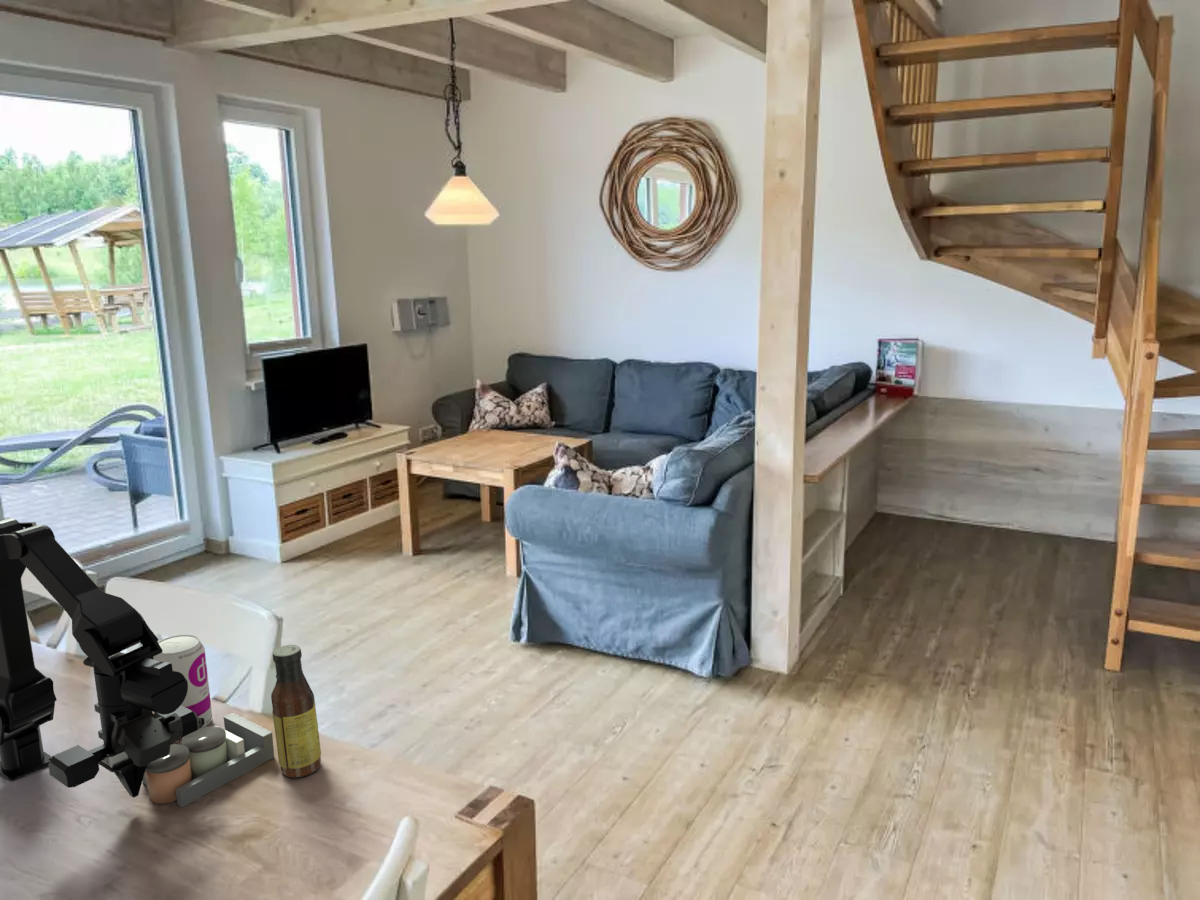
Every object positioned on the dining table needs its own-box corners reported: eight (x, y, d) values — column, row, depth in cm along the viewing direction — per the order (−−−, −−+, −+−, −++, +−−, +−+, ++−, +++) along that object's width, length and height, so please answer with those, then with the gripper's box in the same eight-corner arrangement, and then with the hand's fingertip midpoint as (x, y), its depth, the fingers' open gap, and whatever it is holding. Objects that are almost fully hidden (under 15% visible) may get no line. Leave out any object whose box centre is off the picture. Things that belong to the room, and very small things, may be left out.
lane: (142, 783, 137) (139, 757, 136) (234, 736, 149) (232, 712, 148) (182, 807, 131) (178, 780, 130) (274, 757, 144) (272, 732, 143)
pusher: (211, 753, 144) (208, 728, 143) (218, 750, 145) (215, 725, 144) (239, 768, 140) (236, 742, 139) (245, 764, 141) (243, 739, 140)
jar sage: (176, 773, 139) (173, 739, 138) (213, 755, 144) (210, 722, 143) (200, 787, 136) (197, 752, 134) (237, 768, 141) (234, 734, 139)
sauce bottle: (330, 761, 143) (321, 644, 138) (305, 783, 137) (294, 662, 132) (295, 753, 145) (285, 638, 140) (269, 775, 139) (257, 655, 134)
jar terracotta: (139, 794, 134) (134, 759, 133) (178, 773, 139) (174, 739, 138) (163, 808, 131) (157, 773, 129) (202, 787, 136) (197, 752, 134)
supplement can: (221, 714, 156) (212, 634, 153) (196, 740, 148) (186, 656, 145) (176, 712, 157) (167, 632, 154) (149, 737, 149) (138, 653, 146)
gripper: (80, 744, 115) (96, 852, 118) (215, 686, 130) (225, 783, 133) (39, 718, 121) (55, 821, 125) (172, 665, 136) (183, 759, 139)
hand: (134, 796), depth 130 cm, fingers closed
